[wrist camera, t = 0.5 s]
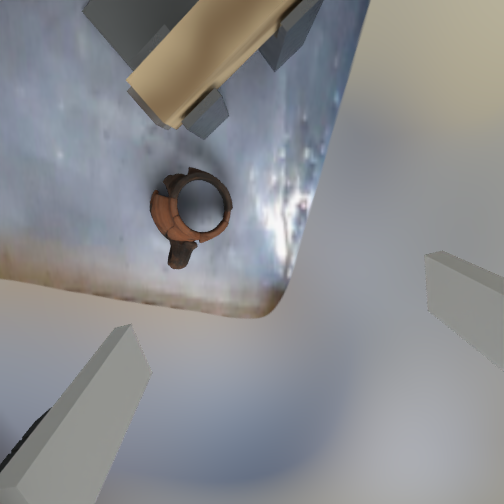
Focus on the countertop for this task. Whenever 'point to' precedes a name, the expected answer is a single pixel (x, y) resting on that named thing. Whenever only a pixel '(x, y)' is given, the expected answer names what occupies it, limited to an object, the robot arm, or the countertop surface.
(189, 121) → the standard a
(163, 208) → the pottery mug
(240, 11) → the oak rail
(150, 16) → the mat
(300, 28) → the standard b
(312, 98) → the countertop surface
